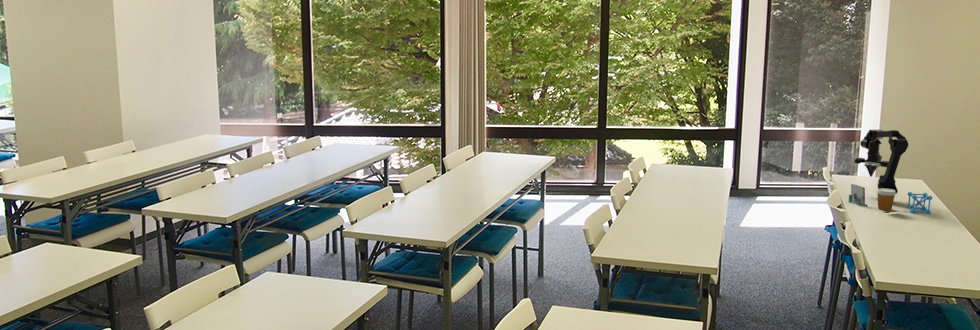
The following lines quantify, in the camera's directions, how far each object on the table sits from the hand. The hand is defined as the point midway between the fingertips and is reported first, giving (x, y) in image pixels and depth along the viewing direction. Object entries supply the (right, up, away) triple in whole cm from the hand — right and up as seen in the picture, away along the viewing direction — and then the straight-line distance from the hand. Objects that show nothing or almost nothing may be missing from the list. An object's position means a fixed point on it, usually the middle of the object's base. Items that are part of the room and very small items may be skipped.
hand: (871, 176), depth 460 cm
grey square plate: (-17, -15, -21) cm, 31 cm away
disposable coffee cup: (-9, -19, -34) cm, 40 cm away
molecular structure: (+9, -19, -34) cm, 40 cm away
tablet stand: (-16, -16, -20) cm, 30 cm away
